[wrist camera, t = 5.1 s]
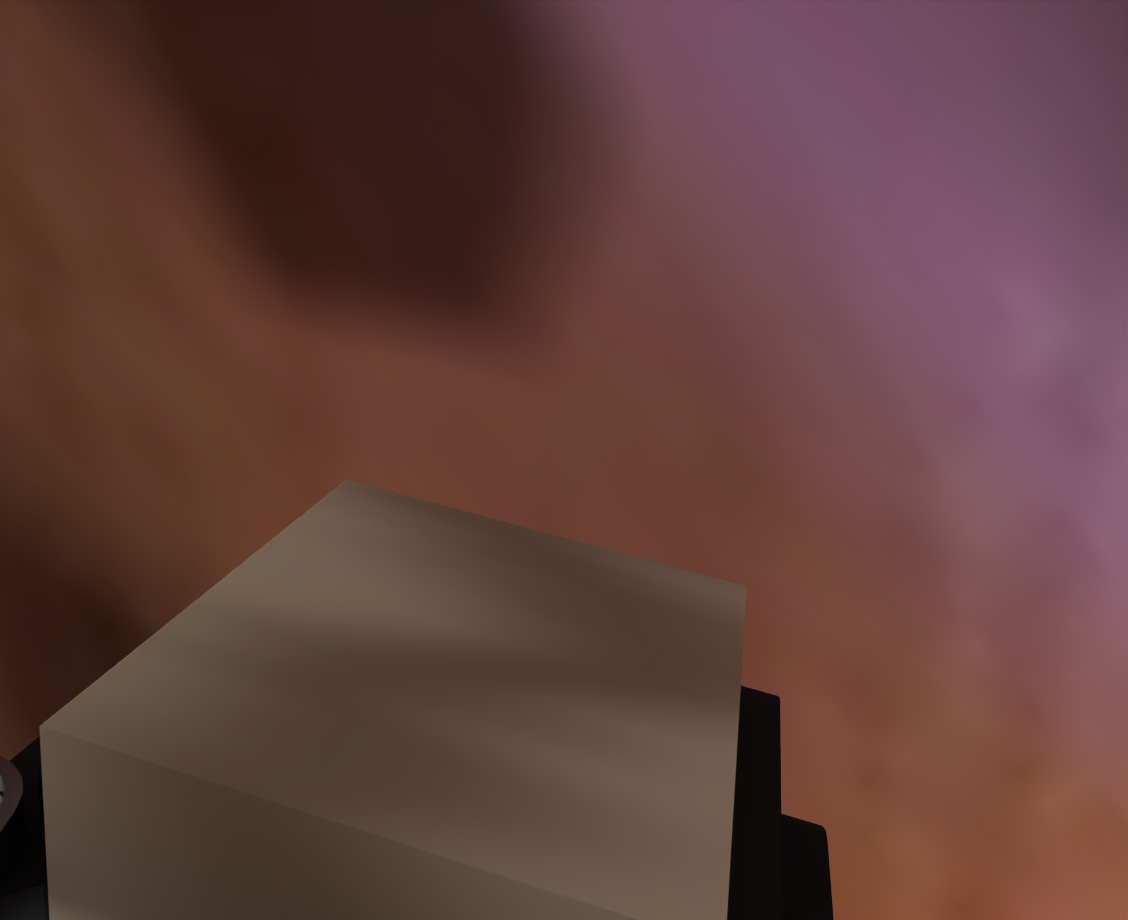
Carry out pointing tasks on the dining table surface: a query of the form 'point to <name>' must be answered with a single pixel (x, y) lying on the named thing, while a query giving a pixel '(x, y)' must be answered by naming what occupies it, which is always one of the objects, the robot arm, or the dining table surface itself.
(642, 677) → the maple cube
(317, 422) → the dining table surface
